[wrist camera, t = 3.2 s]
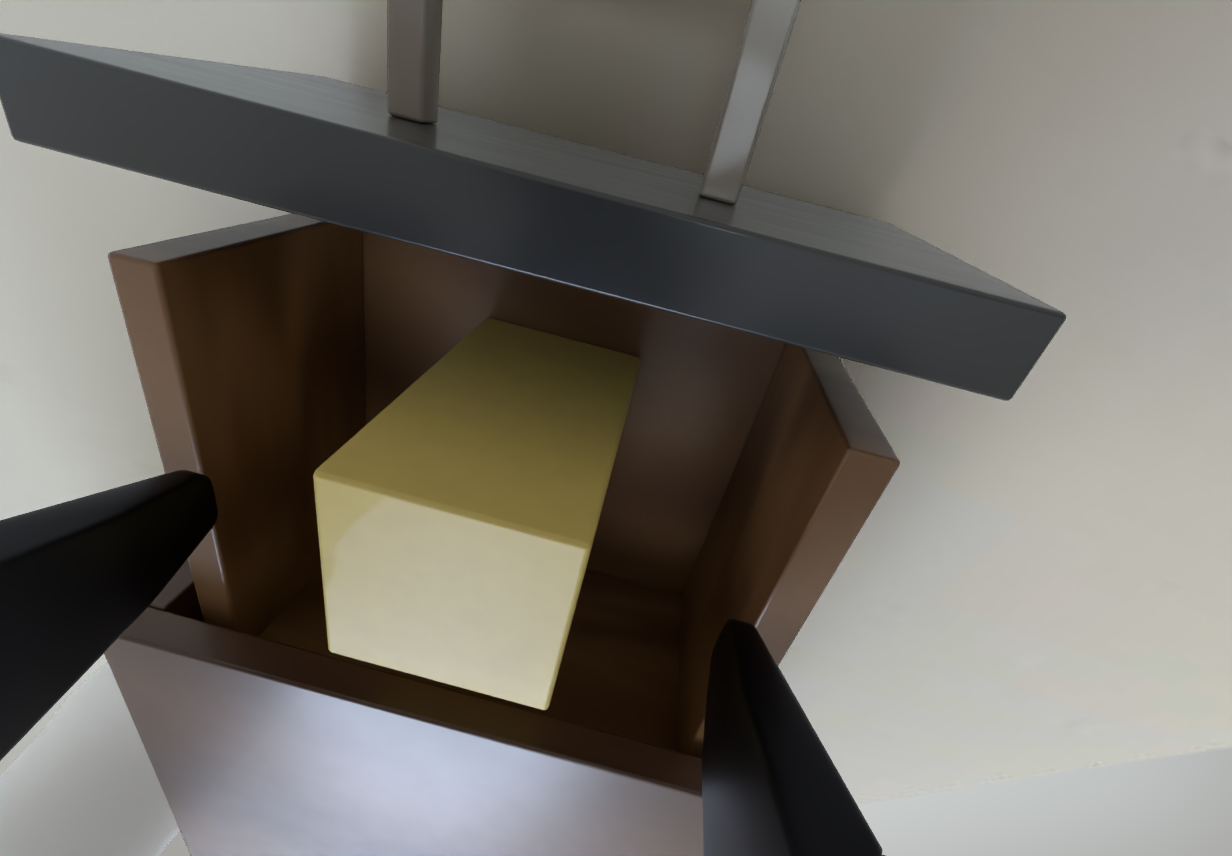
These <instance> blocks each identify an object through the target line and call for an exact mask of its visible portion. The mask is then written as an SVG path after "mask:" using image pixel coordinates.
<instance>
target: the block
mask: <svg viewBox="0 0 1232 856" xmlns="http://www.w3.org/2000/svg"><path fill="white" fill-rule="evenodd" d="M640 362H641V360H640V358H639V357H636V356H632V355H628V354H625V353H621V352H617V351H613V350H609V349H606V348H602V347H598V346H594V345H590V344H587V343H583V342H579V341H575V340H572V339H568V338H564V337H560V336H556V335H553V334H549V333H545V332H541V331H537V330H534V329H530V328H526V327H522V326H519V325H515V324H511V323H507V322H503V321H500V320H496V319H492V318H486V319H485V320H484V321H483V322H482V323H481V324H480V325H479V326H477V327H476V328H475V329H474V330H473V331H472V332H471V333H469V334H468V335H467V336H466V337H465V338H464V339H463V340H462V341H460V342H459V343H458V344H457V345H456V346H455V347H454V348H453V349H451V350H450V351H449V352H448V353H447V354H446V355H445V356H444V357H442V358H441V359H440V360H439V361H438V362H437V363H436V364H435V365H433V366H432V367H431V368H430V369H429V370H428V371H427V372H425V373H424V374H423V375H422V376H421V377H420V378H419V379H418V380H416V381H415V382H414V383H413V384H412V385H411V386H410V387H409V388H407V389H406V390H405V391H404V392H403V393H402V394H401V395H400V396H398V397H397V398H396V399H395V400H394V401H393V402H392V403H391V404H389V405H388V406H387V407H386V408H385V409H384V410H383V411H381V412H380V413H379V414H378V415H377V416H376V417H375V418H374V419H372V420H371V421H370V422H369V423H368V424H367V425H366V426H365V427H363V428H362V429H361V430H360V431H359V432H358V433H357V434H356V435H354V436H353V437H352V438H351V439H350V440H349V441H348V442H347V443H345V444H344V445H343V446H342V447H341V448H340V449H339V450H337V451H336V452H335V453H334V454H333V455H332V456H331V457H330V458H328V459H327V460H326V461H325V462H324V463H323V464H322V465H321V466H319V467H318V468H317V469H316V470H315V472H314V475H313V479H314V491H315V502H316V514H317V525H318V536H319V548H320V559H321V570H322V582H323V593H324V605H325V616H326V627H327V639H328V649H329V651H331V652H332V653H336V654H339V655H343V656H347V657H350V658H354V659H358V660H361V661H365V662H369V663H372V664H376V665H380V666H383V667H387V668H391V669H394V670H398V671H402V672H405V673H409V674H413V675H416V676H420V677H424V678H427V679H431V680H435V681H438V682H442V683H446V684H449V685H453V686H457V687H460V688H464V689H468V690H472V691H475V692H479V693H483V694H486V695H490V696H494V697H497V698H501V699H505V700H508V701H512V702H516V703H519V704H523V705H527V706H530V707H534V708H538V709H541V710H546V709H547V708H548V707H549V706H550V702H551V698H552V694H553V691H554V687H555V683H556V679H557V676H558V672H559V668H560V664H561V661H562V657H563V653H564V649H565V646H566V642H567V638H568V635H569V631H570V627H571V623H572V620H573V616H574V612H575V608H576V605H577V601H578V597H579V593H580V590H581V586H582V582H583V578H584V575H585V571H586V567H587V564H588V560H589V556H590V552H591V549H592V545H593V541H594V537H595V533H596V530H597V526H598V522H599V518H600V514H601V511H602V507H603V503H604V499H605V495H606V492H607V488H608V484H609V480H610V476H611V472H612V469H613V465H614V461H615V457H616V453H617V450H618V446H619V442H620V438H621V434H622V431H623V427H624V423H625V419H626V415H627V412H628V408H629V404H630V400H631V396H632V393H633V389H634V385H635V381H636V377H637V374H638V370H639V366H640Z"/></svg>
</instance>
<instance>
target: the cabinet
mask: <svg viewBox="0 0 1232 856" xmlns="http://www.w3.org/2000/svg"><path fill="white" fill-rule="evenodd" d="M104 654H105V657H106V659H107V661H108V664H109V666H110V668H111V671H112V673H113V675H114V678H115V680H116V682H117V685H118V687H119V689H120V692H121V694H122V696H123V699H124V701H125V703H126V706H127V708H128V710H129V713H130V715H131V717H132V720H133V722H134V724H135V727H136V729H137V731H138V734H139V736H140V738H141V741H142V743H143V745H144V748H145V750H146V752H147V755H148V757H149V759H150V762H151V764H152V766H153V769H154V771H155V773H156V776H157V778H158V780H159V783H160V785H161V787H162V790H163V792H164V794H165V797H166V799H167V801H168V804H169V806H170V808H171V811H172V813H173V815H174V818H175V820H176V822H177V825H178V827H179V829H180V832H181V834H182V836H183V839H184V841H185V843H186V846H187V848H188V850H189V853H190V855H191V856H703V803H702V758H701V757H698V756H694V755H690V754H687V753H683V752H679V751H676V750H672V749H668V748H665V747H661V746H657V745H654V744H650V743H646V742H643V741H639V740H635V739H632V738H628V737H624V736H621V735H617V734H613V733H610V732H606V731H602V730H599V729H595V728H591V727H588V726H584V725H580V724H577V723H573V722H569V721H566V720H562V719H558V718H555V717H551V716H547V715H544V714H540V713H536V712H533V711H529V710H525V709H522V708H518V707H514V706H511V705H507V704H503V703H500V702H496V701H492V700H489V699H485V698H481V697H478V696H474V695H470V694H467V693H463V692H459V691H456V690H452V689H448V688H445V687H441V686H437V685H434V684H430V683H426V682H423V681H419V680H415V679H412V678H408V677H404V676H401V675H397V674H393V673H390V672H386V671H382V670H379V669H375V668H371V667H368V666H364V665H360V664H357V663H353V662H349V661H346V660H342V659H338V658H335V657H331V656H327V655H324V654H320V653H316V652H313V651H309V650H305V649H302V648H298V647H294V646H291V645H287V644H283V643H280V642H276V641H272V640H269V639H265V638H261V637H258V636H254V635H250V634H247V633H243V632H239V631H235V630H232V629H228V628H224V627H221V626H217V625H213V624H210V623H206V622H204V619H203V615H202V611H201V607H200V604H199V600H198V596H197V592H196V588H195V585H194V581H193V577H192V573H191V570H190V566H189V562H188V559H187V560H186V561H185V563H184V564H183V565H182V566H181V568H180V569H179V570H178V571H177V573H176V574H175V575H174V576H173V578H172V579H171V580H170V581H169V583H168V584H167V585H166V586H165V588H164V589H163V590H162V591H161V593H160V594H159V595H158V596H157V597H156V598H155V600H154V601H153V602H152V603H151V604H150V605H149V606H148V608H147V609H146V610H145V611H144V612H143V613H142V614H141V615H140V616H139V617H138V618H137V619H136V620H135V621H134V622H133V623H132V625H131V626H130V627H129V628H128V629H127V630H126V631H125V632H124V633H123V634H122V635H121V636H120V637H119V638H118V639H117V640H116V641H115V642H114V643H113V644H112V645H111V646H110V647H109V648H108V649H107V650H106V652H105V653H104Z"/></svg>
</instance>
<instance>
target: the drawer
mask: <svg viewBox="0 0 1232 856" xmlns="http://www.w3.org/2000/svg"><path fill="white" fill-rule="evenodd" d="M442 2H443V0H387V93H385V92H381V91H377V90H374V89H370V88H366V87H362V86H358V85H354V84H350V83H347V82H343V81H339V80H335V79H331V78H327V77H323V76H315V75H308V74H300V73H293V72H285V71H278V70H270V69H263V68H255V67H248V66H241V65H233V64H226V63H218V62H211V61H203V60H196V59H188V58H181V57H173V56H166V55H158V54H151V53H143V52H136V51H128V50H121V49H113V48H106V47H98V46H91V45H84V44H76V43H69V42H61V41H54V40H46V39H39V38H31V37H24V36H16V35H9V34H1V33H0V100H1V103H2V106H3V109H4V112H5V115H6V119H7V122H8V125H9V128H10V131H11V134H12V136H13V138H14V139H15V140H17V141H20V142H24V143H27V144H31V145H35V146H39V147H43V148H46V149H50V150H54V151H58V152H62V153H65V154H69V155H73V156H77V157H81V158H84V159H88V160H92V161H96V162H100V163H103V164H107V165H111V166H115V167H119V168H122V169H126V170H130V171H134V172H138V173H141V174H145V175H149V176H153V177H157V178H160V179H164V180H168V181H172V182H176V183H179V184H183V185H187V186H191V187H195V188H198V189H202V190H206V191H210V192H214V193H217V194H221V195H225V196H229V197H233V198H236V199H240V200H244V201H248V202H252V203H255V204H259V205H263V206H267V207H271V208H275V209H278V210H282V211H286V212H290V213H293V214H288V215H284V216H279V217H274V218H270V219H265V220H260V221H255V222H251V223H246V224H241V225H236V226H232V227H227V228H222V229H217V230H213V231H208V232H203V233H198V234H194V235H189V236H184V237H179V238H175V239H170V240H165V241H160V242H156V243H151V244H146V245H141V246H137V247H132V248H127V249H122V250H118V251H113V252H110V253H109V254H108V259H109V263H110V266H111V270H112V274H113V278H114V282H115V285H116V289H117V293H118V297H119V301H120V304H121V308H122V312H123V316H124V319H125V323H126V327H127V331H128V335H129V338H130V342H131V346H132V350H133V354H134V357H135V361H136V365H137V369H138V373H139V376H140V380H141V384H142V388H143V391H144V395H145V399H146V403H147V407H148V410H149V414H150V418H151V422H152V426H153V429H154V433H155V437H156V441H157V445H158V448H159V452H160V456H161V460H162V463H163V467H164V471H165V474H167V473H171V472H174V471H178V470H188V471H192V472H196V473H199V474H203V475H206V476H208V477H209V478H210V480H211V481H212V485H213V490H214V494H215V499H216V504H217V509H218V517H217V520H216V522H215V524H214V526H213V528H212V529H211V530H210V531H209V533H208V534H207V535H206V536H205V538H204V539H203V540H202V541H201V543H200V544H199V545H198V546H197V548H196V549H195V550H194V551H193V553H192V554H191V555H190V556H189V558H188V562H189V566H190V570H191V573H192V577H193V581H194V585H195V588H196V592H197V596H198V600H199V604H200V607H201V611H202V615H203V619H204V622H206V623H210V624H213V625H217V626H221V627H224V628H228V629H232V630H235V631H239V632H243V633H247V634H250V635H254V636H258V637H261V638H265V639H269V640H272V641H276V642H280V643H283V644H287V645H291V646H294V647H298V648H302V649H305V650H309V651H313V652H316V653H320V654H324V655H327V656H331V657H335V658H338V659H342V660H346V661H349V662H353V663H357V664H360V665H364V666H368V667H371V668H375V669H379V670H382V671H386V672H390V673H393V674H397V675H401V676H404V677H408V678H412V679H415V680H419V681H423V682H426V683H430V684H434V685H437V686H441V687H445V688H448V689H452V690H456V691H459V692H463V693H467V694H470V695H474V696H478V697H481V698H485V699H489V700H492V701H496V702H500V703H503V704H507V705H511V706H514V707H518V708H522V709H525V710H529V711H533V712H536V713H540V714H544V715H547V716H551V717H555V718H558V719H562V720H566V721H569V722H573V723H577V724H580V725H584V726H588V727H591V728H595V729H599V730H602V731H606V732H610V733H613V734H617V735H621V736H624V737H628V738H632V739H635V740H639V741H643V742H646V743H650V744H654V745H657V746H661V747H665V748H668V749H672V750H676V751H679V752H683V753H687V754H690V755H694V756H698V757H701V758H702V748H703V735H704V724H705V713H706V702H707V691H708V680H709V669H710V659H711V654H712V651H713V648H714V646H715V644H716V642H717V640H718V638H719V636H720V634H721V631H722V629H723V627H724V625H725V623H726V622H727V621H728V620H729V619H731V618H734V619H738V620H741V621H745V622H749V623H751V624H753V625H754V626H755V627H756V629H757V630H758V632H759V634H760V636H761V637H762V639H763V641H764V643H765V644H766V646H767V648H768V650H769V651H770V653H771V655H772V657H773V658H774V660H775V662H776V664H777V666H778V665H779V663H780V662H781V660H782V658H783V657H784V655H785V654H786V652H787V650H788V649H789V647H790V645H791V644H792V642H793V640H794V639H795V637H796V635H797V634H798V632H799V630H800V629H801V627H802V625H803V624H804V622H805V620H806V619H807V617H808V615H809V614H810V612H811V610H812V609H813V607H814V606H815V604H816V602H817V601H818V599H819V597H820V596H821V594H822V592H823V591H824V589H825V587H826V586H827V584H828V582H829V581H830V579H831V577H832V576H833V574H834V572H835V571H836V569H837V567H838V566H839V564H840V562H841V561H842V559H843V558H844V556H845V554H846V553H847V551H848V549H849V548H850V546H851V544H852V543H853V541H854V539H855V538H856V536H857V534H858V533H859V531H860V529H861V528H862V526H863V524H864V523H865V521H866V519H867V518H868V516H869V514H870V513H871V511H872V510H873V508H874V506H875V505H876V503H877V501H878V500H879V498H880V496H881V495H882V493H883V491H884V490H885V488H886V486H887V485H888V483H889V481H890V480H891V478H892V476H893V475H894V473H895V471H896V470H897V468H898V466H899V464H900V461H899V459H898V458H897V456H896V454H895V453H894V451H893V449H892V447H891V446H890V444H889V442H888V441H887V439H886V437H885V436H884V434H883V432H882V431H881V429H880V427H879V425H878V424H877V422H876V420H875V419H874V417H873V415H872V414H871V412H870V410H869V409H868V407H867V405H866V403H865V402H864V400H863V398H862V397H861V395H860V393H859V392H858V390H857V388H856V387H855V385H854V383H853V381H852V380H851V378H850V376H849V375H848V373H847V371H846V370H845V368H844V366H843V365H842V363H841V361H840V359H839V358H838V357H841V358H845V359H849V360H852V361H856V362H860V363H864V364H868V365H871V366H875V367H879V368H883V369H887V370H890V371H894V372H898V373H902V374H906V375H909V376H913V377H917V378H921V379H925V380H928V381H932V382H936V383H940V384H944V385H947V386H951V387H955V388H959V389H963V390H966V391H970V392H974V393H978V394H982V395H985V396H989V397H993V398H997V399H1001V400H1010V399H1011V398H1012V397H1013V396H1014V394H1015V393H1016V391H1017V390H1018V388H1019V387H1020V385H1021V384H1022V382H1023V381H1024V379H1025V378H1026V376H1027V375H1028V374H1029V372H1030V371H1031V369H1032V368H1033V366H1034V365H1035V363H1036V362H1037V360H1038V359H1039V357H1040V356H1041V355H1042V353H1043V352H1044V350H1045V349H1046V347H1047V346H1048V344H1049V343H1050V341H1051V340H1052V338H1053V337H1054V335H1055V334H1056V333H1057V331H1058V330H1059V328H1060V327H1061V325H1062V324H1063V322H1064V321H1065V319H1066V315H1065V314H1064V313H1063V312H1061V311H1059V310H1057V309H1055V308H1054V307H1052V306H1050V305H1048V304H1046V303H1044V302H1042V301H1040V300H1038V299H1036V298H1034V297H1032V296H1030V295H1028V294H1026V293H1024V292H1022V291H1020V290H1018V289H1016V288H1015V287H1013V286H1011V285H1009V284H1007V283H1005V282H1003V281H1001V280H999V279H997V278H995V277H993V276H991V275H989V274H987V273H985V272H983V271H981V270H979V269H977V268H976V267H974V266H972V265H970V264H968V263H966V262H964V261H962V260H960V259H958V258H956V257H954V256H952V255H950V254H948V253H946V252H944V251H942V250H940V249H939V248H937V247H935V246H933V245H931V244H929V243H927V242H925V241H923V240H921V239H919V238H917V237H915V236H913V235H911V234H909V233H907V232H905V231H903V230H901V229H900V228H898V227H896V226H894V225H892V224H889V223H885V222H882V221H878V220H874V219H870V218H866V217H862V216H858V215H855V214H851V213H847V212H843V211H839V210H835V209H832V208H828V207H824V206H820V205H816V204H812V203H808V202H805V201H801V200H797V199H793V198H789V197H785V196H781V195H778V194H774V193H770V192H766V191H762V190H758V189H755V188H751V187H747V186H743V182H744V179H745V176H746V173H747V170H748V167H749V163H750V160H751V157H752V154H753V151H754V147H755V144H756V141H757V138H758V135H759V132H760V128H761V125H762V122H763V119H764V116H765V113H766V109H767V106H768V103H769V100H770V97H771V94H772V90H773V87H774V84H775V81H776V78H777V75H778V71H779V68H780V65H781V62H782V59H783V56H784V52H785V49H786V46H787V43H788V40H789V36H790V33H791V30H792V27H793V24H794V21H795V17H796V14H797V11H798V8H799V5H800V2H801V0H752V3H751V7H750V10H749V14H748V17H747V21H746V24H745V28H744V32H743V35H742V39H741V42H740V46H739V50H738V53H737V57H736V60H735V64H734V68H733V71H732V75H731V78H730V82H729V86H728V89H727V93H726V96H725V100H724V104H723V107H722V111H721V114H720V118H719V122H718V125H717V129H716V132H715V136H714V139H713V143H712V147H711V150H710V154H709V157H708V161H707V165H706V168H705V172H704V175H701V174H697V173H693V172H689V171H685V170H681V169H678V168H674V167H670V166H666V165H662V164H658V163H654V162H651V161H647V160H643V159H639V158H635V157H631V156H628V155H624V154H620V153H616V152H612V151H608V150H604V149H601V148H597V147H593V146H589V145H585V144H581V143H578V142H574V141H570V140H566V139H562V138H558V137H554V136H551V135H547V134H543V133H539V132H535V131H531V130H528V129H524V128H520V127H516V126H512V125H508V124H504V123H501V122H497V121H493V120H489V119H485V118H481V117H477V116H474V115H470V114H466V113H462V112H458V111H454V110H451V109H447V108H443V107H439V106H438V97H439V73H440V50H441V26H442ZM486 318H492V319H496V320H500V321H503V322H507V323H511V324H515V325H519V326H522V327H526V328H530V329H534V330H537V331H541V332H545V333H549V334H553V335H556V336H560V337H564V338H568V339H572V340H575V341H579V342H583V343H587V344H590V345H594V346H598V347H602V348H606V349H609V350H613V351H617V352H621V353H625V354H628V355H632V356H636V357H639V358H640V360H641V362H640V366H639V370H638V374H637V377H636V381H635V385H634V389H633V393H632V396H631V400H630V404H629V408H628V412H627V415H626V419H625V423H624V427H623V431H622V434H621V438H620V442H619V446H618V450H617V453H616V457H615V461H614V465H613V469H612V472H611V476H610V480H609V484H608V488H607V492H606V495H605V499H604V503H603V507H602V511H601V514H600V518H599V522H598V526H597V530H596V533H595V537H594V541H593V545H592V549H591V552H590V556H589V560H588V564H587V567H586V571H585V575H584V578H583V582H582V586H581V590H580V593H579V597H578V601H577V605H576V608H575V612H574V616H573V620H572V623H571V627H570V631H569V635H568V638H567V642H566V646H565V649H564V653H563V657H562V661H561V664H560V668H559V672H558V676H557V679H556V683H555V687H554V691H553V694H552V698H551V702H550V706H549V707H548V708H547V709H546V710H541V709H538V708H534V707H530V706H527V705H523V704H519V703H516V702H512V701H508V700H505V699H501V698H497V697H494V696H490V695H486V694H483V693H479V692H475V691H472V690H468V689H464V688H460V687H457V686H453V685H449V684H446V683H442V682H438V681H435V680H431V679H427V678H424V677H420V676H416V675H413V674H409V673H405V672H402V671H398V670H394V669H391V668H387V667H383V666H380V665H376V664H372V663H369V662H365V661H361V660H358V659H354V658H350V657H347V656H343V655H339V654H336V653H332V652H331V651H329V649H328V639H327V627H326V616H325V605H324V593H323V582H322V570H321V559H320V548H319V536H318V525H317V514H316V502H315V491H314V479H313V475H314V472H315V470H316V469H317V468H318V467H319V466H321V465H322V464H323V463H324V462H325V461H326V460H327V459H328V458H330V457H331V456H332V455H333V454H334V453H335V452H336V451H337V450H339V449H340V448H341V447H342V446H343V445H344V444H345V443H347V442H348V441H349V440H350V439H351V438H352V437H353V436H354V435H356V434H357V433H358V432H359V431H360V430H361V429H362V428H363V427H365V426H366V425H367V424H368V423H369V422H370V421H371V420H372V419H374V418H375V417H376V416H377V415H378V414H379V413H380V412H381V411H383V410H384V409H385V408H386V407H387V406H388V405H389V404H391V403H392V402H393V401H394V400H395V399H396V398H397V397H398V396H400V395H401V394H402V393H403V392H404V391H405V390H406V389H407V388H409V387H410V386H411V385H412V384H413V383H414V382H415V381H416V380H418V379H419V378H420V377H421V376H422V375H423V374H424V373H425V372H427V371H428V370H429V369H430V368H431V367H432V366H433V365H435V364H436V363H437V362H438V361H439V360H440V359H441V358H442V357H444V356H445V355H446V354H447V353H448V352H449V351H450V350H451V349H453V348H454V347H455V346H456V345H457V344H458V343H459V342H460V341H462V340H463V339H464V338H465V337H466V336H467V335H468V334H469V333H471V332H472V331H473V330H474V329H475V328H476V327H477V326H479V325H480V324H481V323H482V322H483V321H484V320H485V319H486Z"/></svg>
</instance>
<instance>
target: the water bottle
mask: <svg viewBox="0 0 1232 856" xmlns="http://www.w3.org/2000/svg"><path fill="white" fill-rule="evenodd" d="M179 831H180V829H179V827H178V825H177V822H176V820H175V818H174V815H173V813H172V811H171V808H170V806H169V804H168V801H167V799H166V797H165V794H164V792H163V790H162V787H161V785H160V783H159V780H158V778H157V776H156V773H155V771H154V769H153V766H152V764H151V762H150V759H149V757H148V755H147V752H146V750H145V748H144V745H143V743H142V741H141V738H140V736H139V734H138V731H137V729H136V727H135V724H134V722H133V720H132V717H131V715H130V713H129V710H128V708H127V706H126V703H125V701H124V699H123V696H122V694H121V692H120V689H119V687H118V685H117V682H116V680H115V678H114V675H113V673H112V671H111V668H110V666H109V664H108V662H107V663H106V664H104V665H103V666H102V667H101V668H100V669H98V670H97V671H96V672H95V673H94V674H92V675H91V676H90V677H89V678H88V679H87V680H86V681H85V682H84V683H82V684H81V685H80V686H79V687H78V688H77V689H76V690H75V691H73V692H72V693H71V694H70V695H69V696H68V697H67V698H66V699H65V701H64V702H63V703H62V705H61V706H60V707H59V709H58V710H57V711H56V713H55V714H54V715H53V717H52V718H51V719H50V721H49V722H48V723H47V724H46V725H45V727H44V728H43V729H42V730H41V731H40V733H39V734H38V735H37V736H36V737H35V739H34V740H33V741H32V742H31V743H30V744H29V746H28V747H27V748H26V749H25V750H24V751H23V752H22V753H21V754H20V755H19V756H18V757H17V758H16V759H15V761H14V762H13V763H12V764H11V765H10V766H9V767H8V768H7V769H6V770H5V771H4V772H3V773H2V774H1V775H0V856H159V855H160V853H161V852H162V851H163V850H164V848H165V847H166V846H167V845H168V843H169V842H170V841H171V840H172V838H174V836H175V835H176V834H177V833H178V832H179Z"/></svg>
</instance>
